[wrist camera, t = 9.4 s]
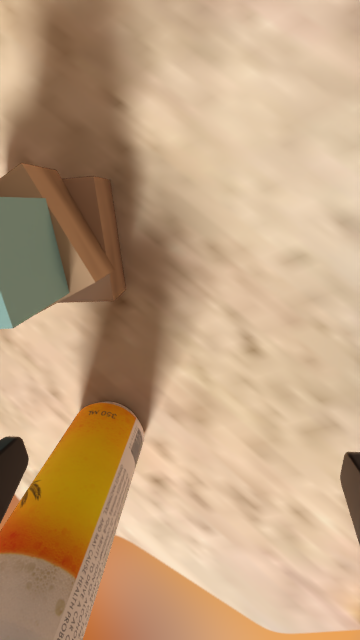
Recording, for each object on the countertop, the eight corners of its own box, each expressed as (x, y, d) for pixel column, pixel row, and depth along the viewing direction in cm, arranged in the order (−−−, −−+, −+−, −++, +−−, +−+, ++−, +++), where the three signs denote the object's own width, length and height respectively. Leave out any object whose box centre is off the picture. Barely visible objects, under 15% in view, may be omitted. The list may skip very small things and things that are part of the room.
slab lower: (112, 180, 18) (93, 176, 15) (127, 287, 21) (113, 300, 18) (11, 189, 19) (-24, 187, 16) (38, 291, 22) (11, 304, 19)
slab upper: (56, 170, 15) (21, 162, 13) (115, 269, 17) (95, 282, 14) (-21, 224, 17) (-67, 227, 14) (40, 309, 19) (9, 328, 16)
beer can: (68, 401, 25) (-121, 654, 11) (133, 391, 23) (14, 660, 10) (93, 454, 27) (-39, 723, 13) (154, 447, 25) (81, 736, 12)
